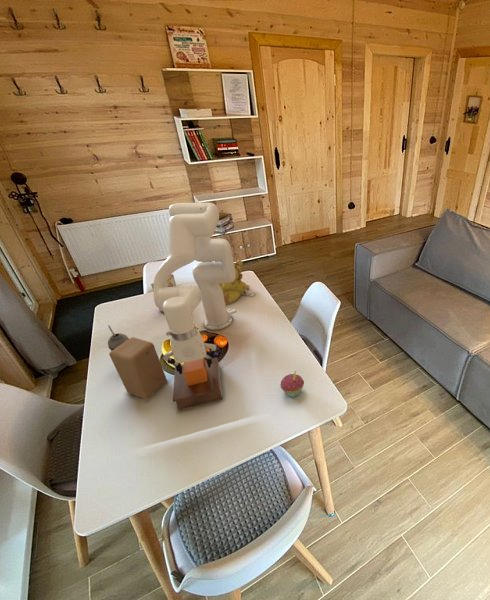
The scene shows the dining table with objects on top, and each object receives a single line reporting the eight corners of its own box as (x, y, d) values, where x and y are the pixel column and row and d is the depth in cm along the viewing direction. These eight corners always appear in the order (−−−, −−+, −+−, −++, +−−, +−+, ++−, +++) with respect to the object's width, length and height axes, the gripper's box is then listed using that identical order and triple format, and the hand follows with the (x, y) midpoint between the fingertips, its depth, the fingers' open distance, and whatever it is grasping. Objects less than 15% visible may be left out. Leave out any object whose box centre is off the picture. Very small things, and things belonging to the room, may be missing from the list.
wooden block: (168, 382, 129) (153, 341, 118) (147, 401, 121) (129, 360, 110) (148, 375, 131) (132, 335, 121) (126, 393, 123) (106, 352, 113)
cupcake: (308, 388, 128) (307, 365, 122) (296, 404, 122) (294, 380, 115) (289, 380, 131) (287, 357, 125) (276, 395, 125) (273, 372, 118)
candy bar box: (168, 313, 167) (159, 284, 158) (159, 312, 168) (149, 283, 159) (181, 301, 176) (173, 273, 168) (172, 300, 177) (164, 272, 168)
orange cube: (207, 381, 122) (203, 368, 118) (187, 385, 120) (183, 372, 116) (206, 369, 127) (203, 356, 123) (188, 373, 125) (183, 360, 121)
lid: (173, 402, 114) (172, 400, 114) (175, 368, 128) (175, 366, 128) (220, 390, 119) (219, 388, 119) (217, 358, 133) (217, 357, 132)
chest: (179, 411, 117) (175, 401, 115) (181, 377, 131) (177, 367, 128) (222, 400, 122) (220, 390, 119) (219, 368, 136) (217, 359, 133)
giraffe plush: (212, 286, 190) (205, 256, 179) (255, 284, 193) (251, 254, 183) (206, 306, 173) (197, 273, 162) (253, 303, 177) (248, 271, 166)
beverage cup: (130, 373, 132) (112, 333, 121) (114, 370, 133) (94, 330, 123) (143, 360, 138) (127, 321, 127) (128, 357, 139) (110, 319, 129)
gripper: (154, 344, 106) (168, 381, 116) (211, 332, 112) (221, 369, 121) (156, 330, 112) (169, 367, 122) (210, 320, 118) (219, 356, 127)
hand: (195, 368), depth 121 cm, fingers open, 9 cm apart
